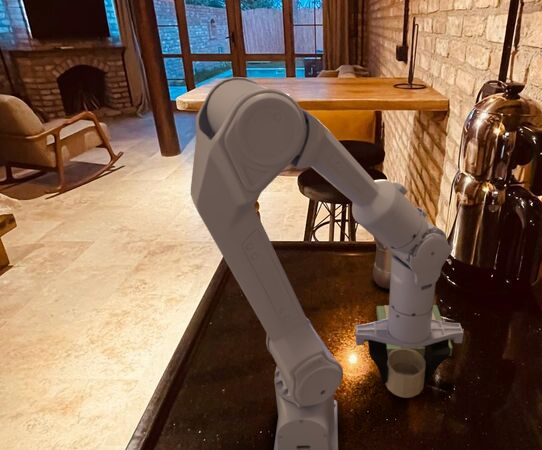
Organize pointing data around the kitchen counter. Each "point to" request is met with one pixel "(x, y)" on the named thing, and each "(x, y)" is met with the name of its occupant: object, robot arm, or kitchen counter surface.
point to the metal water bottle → (382, 266)
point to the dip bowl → (405, 372)
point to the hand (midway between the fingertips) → (404, 377)
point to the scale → (384, 314)
